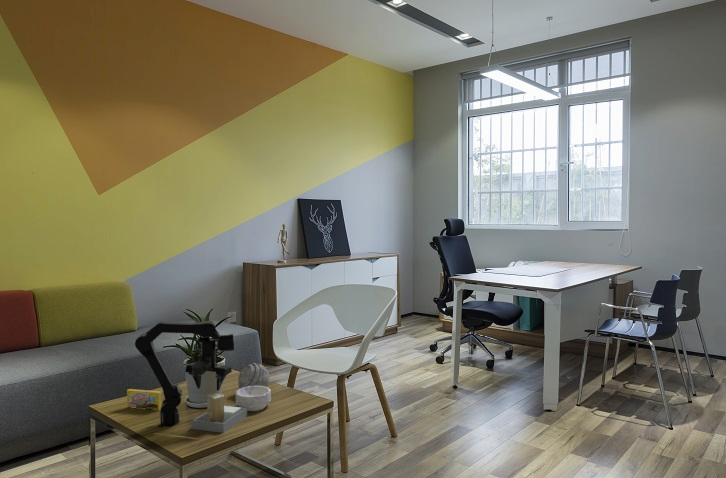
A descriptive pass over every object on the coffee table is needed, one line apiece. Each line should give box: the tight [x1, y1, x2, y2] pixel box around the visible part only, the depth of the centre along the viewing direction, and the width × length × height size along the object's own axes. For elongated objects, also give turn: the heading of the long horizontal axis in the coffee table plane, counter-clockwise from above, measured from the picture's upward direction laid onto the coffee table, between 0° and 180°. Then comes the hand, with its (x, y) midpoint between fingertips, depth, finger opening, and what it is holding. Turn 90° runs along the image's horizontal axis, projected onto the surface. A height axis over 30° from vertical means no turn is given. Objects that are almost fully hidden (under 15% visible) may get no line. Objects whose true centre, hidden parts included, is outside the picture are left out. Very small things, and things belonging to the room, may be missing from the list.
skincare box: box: [206, 392, 225, 423], centre depth 211 cm, size 6×4×12 cm
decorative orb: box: [237, 362, 270, 389], centre depth 251 cm, size 15×14×15 cm
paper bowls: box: [235, 386, 272, 412], centre depth 232 cm, size 15×15×8 cm
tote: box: [191, 408, 248, 433], centre depth 215 cm, size 14×18×4 cm
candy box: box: [126, 388, 162, 411], centre depth 234 cm, size 16×2×8 cm, turn 76°
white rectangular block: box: [224, 405, 241, 421], centre depth 219 cm, size 10×6×4 cm, turn 73°
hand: (208, 389), depth 219 cm, fingers open, 9 cm apart
